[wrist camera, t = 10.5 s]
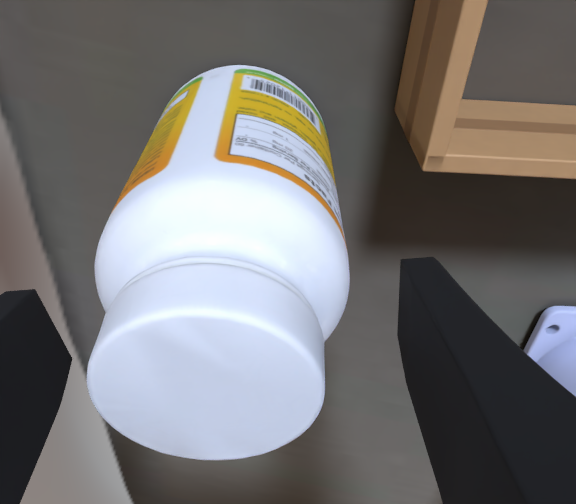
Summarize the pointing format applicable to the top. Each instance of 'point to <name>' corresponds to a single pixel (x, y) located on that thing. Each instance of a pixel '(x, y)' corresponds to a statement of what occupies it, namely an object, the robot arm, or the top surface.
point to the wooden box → (473, 105)
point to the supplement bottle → (222, 273)
